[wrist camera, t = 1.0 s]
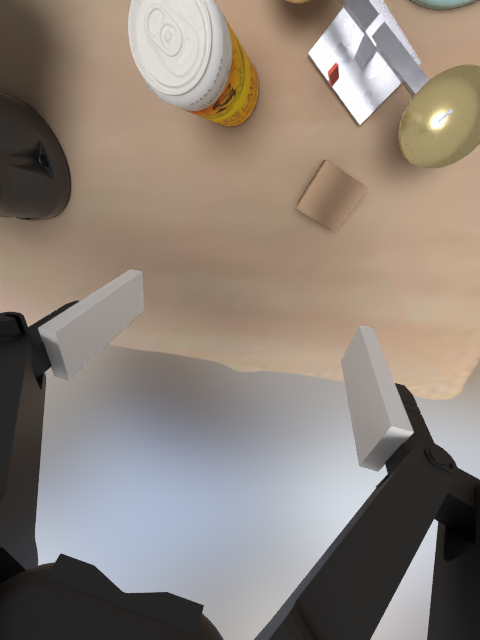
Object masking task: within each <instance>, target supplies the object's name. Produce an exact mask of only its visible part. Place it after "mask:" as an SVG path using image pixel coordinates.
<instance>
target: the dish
mask: <svg viewBox="0 0 480 640" xmlns="http://www.w3.org/2000/svg"><path fill="white" fill-rule="evenodd" d="M411 1H413V2H414V3H416V4H418V5H420V6H423V7H425V8H429V9H436V10H444V9H453V8H458V7H462V6H465V5H468V4H470V3H473V2H475V1H477V0H411Z"/></svg>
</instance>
